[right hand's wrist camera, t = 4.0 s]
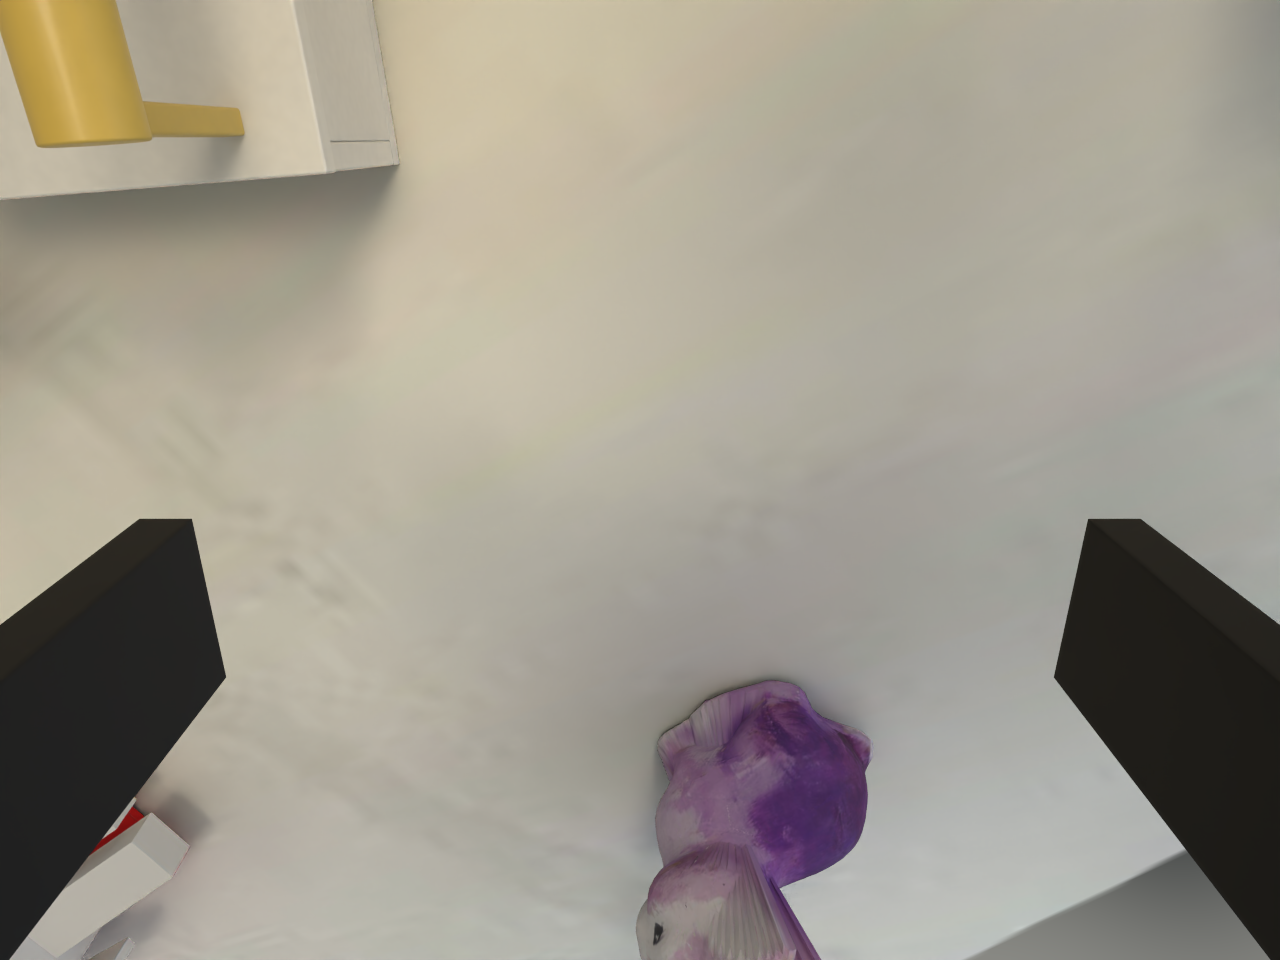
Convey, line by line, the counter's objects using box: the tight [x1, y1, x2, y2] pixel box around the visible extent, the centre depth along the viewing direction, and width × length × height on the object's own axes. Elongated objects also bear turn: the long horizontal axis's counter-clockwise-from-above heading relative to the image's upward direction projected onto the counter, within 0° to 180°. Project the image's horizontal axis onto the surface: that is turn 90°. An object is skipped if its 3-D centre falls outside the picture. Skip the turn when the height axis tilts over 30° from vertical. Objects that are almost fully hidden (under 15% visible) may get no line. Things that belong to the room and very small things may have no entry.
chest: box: [303, 0, 400, 172], centre depth 28 cm, size 14×10×10 cm, turn 94°
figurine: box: [636, 680, 874, 960], centre depth 38 cm, size 9×10×15 cm
